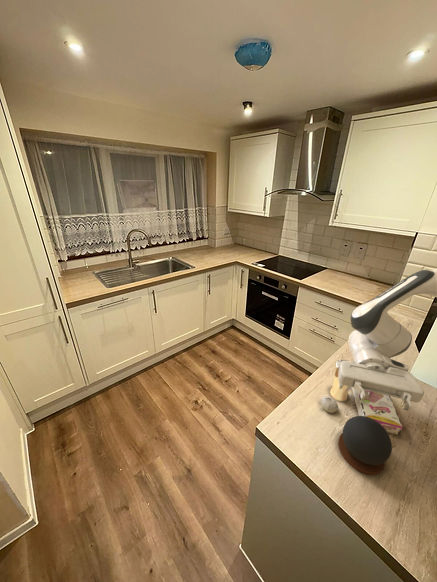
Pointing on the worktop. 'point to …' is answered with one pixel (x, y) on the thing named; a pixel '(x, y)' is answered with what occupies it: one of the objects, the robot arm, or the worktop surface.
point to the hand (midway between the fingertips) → (386, 403)
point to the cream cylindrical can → (339, 388)
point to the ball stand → (365, 445)
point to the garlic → (329, 404)
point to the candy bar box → (379, 410)
